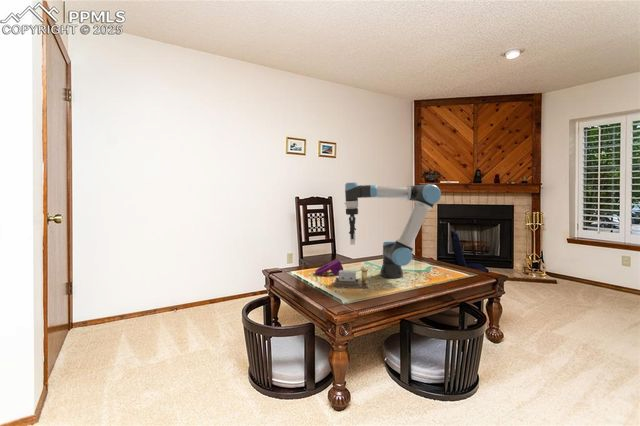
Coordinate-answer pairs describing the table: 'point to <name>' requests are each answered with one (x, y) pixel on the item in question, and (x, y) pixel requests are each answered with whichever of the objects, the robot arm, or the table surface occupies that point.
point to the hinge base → (358, 282)
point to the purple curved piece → (330, 267)
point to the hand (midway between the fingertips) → (352, 242)
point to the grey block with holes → (347, 276)
